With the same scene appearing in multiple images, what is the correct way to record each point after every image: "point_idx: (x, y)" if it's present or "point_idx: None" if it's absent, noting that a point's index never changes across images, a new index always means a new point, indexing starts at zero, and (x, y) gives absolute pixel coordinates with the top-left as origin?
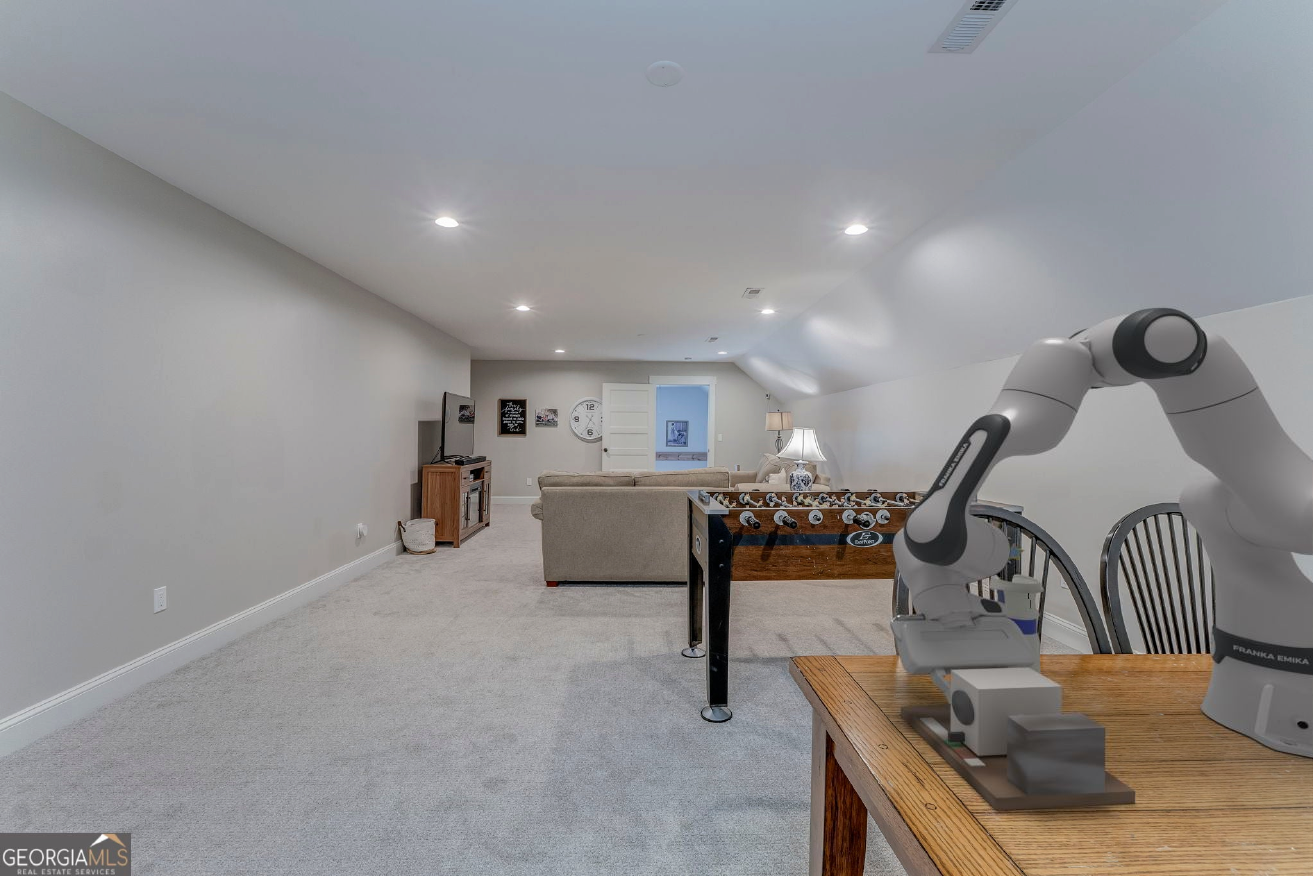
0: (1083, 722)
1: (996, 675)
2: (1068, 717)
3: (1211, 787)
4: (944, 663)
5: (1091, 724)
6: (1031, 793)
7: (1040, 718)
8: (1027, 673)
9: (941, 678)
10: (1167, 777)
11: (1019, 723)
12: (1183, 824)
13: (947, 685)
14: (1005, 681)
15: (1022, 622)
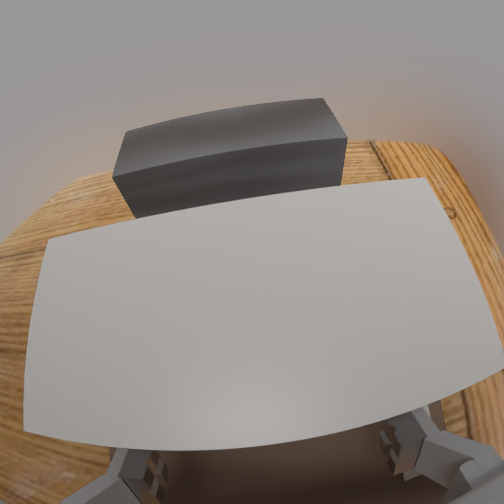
0: (153, 137)
1: (273, 336)
2: (168, 149)
3: (10, 289)
4: (490, 487)
5: (142, 135)
6: None
7: (255, 135)
8: (68, 366)
9: (478, 444)
10: (30, 310)
11: (329, 115)
12: (109, 215)
13: (449, 434)
14: (264, 257)
15: None
